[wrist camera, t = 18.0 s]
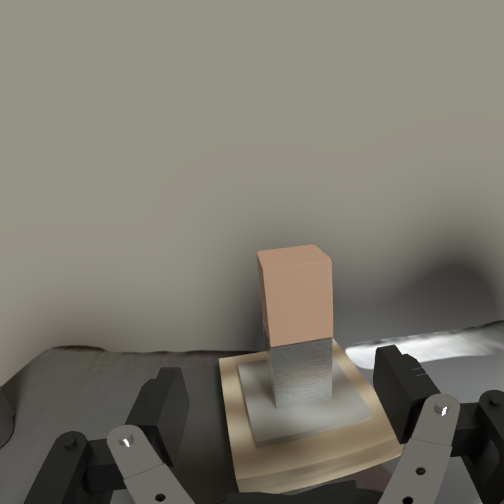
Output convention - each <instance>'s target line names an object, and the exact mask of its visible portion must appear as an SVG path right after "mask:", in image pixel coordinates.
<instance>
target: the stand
mask: <svg viewBox="0 0 504 504" xmlns="http://www.w3.org/2000/svg"><path fill="white" fill-rule="evenodd" d="M219 365H220V373H221V381H222V388H223V396H224V403H225V411H226V418H227V425H228V432H229V438H230V445H231V451H232V458H233V464H234V470H235V476H236V481H237V485H238V488H239V492H264V493H272V494H277V493H282V492H287V491H291V490H295V489H300V488H304V487H308V486H312V485H315V484H319V483H323V482H326V481H330V480H333V479H337V478H340V477H343V476H346V475H349V474H352V473H355V472H358V471H361V470H364V469H367V468H370V467H372V466H375V465H378V464H380V463H383V462H385V461H388V460H390V459H393V458H395V457H398V456H400V455H401V453H402V450H403V446H404V444H401V445H400V444H399V442H398V440H397V437H396V435H395V433H394V431H393V428H392V426H391V424H390V422H389V420H388V418H387V415H386V413H385V411H384V409H383V407H382V405H381V403H380V401H379V398H378V396H377V394H376V392H375V390H374V389H373V388H372V387H371V385H370V384H369V383H368V382H367V380H366V379H365V378H364V377H363V375H362V374H361V373H360V372H359V370H358V369H357V368H356V366H355V365H354V364H353V363H352V361H351V360H350V359H349V358H348V356H347V355H346V354H345V353H344V351H343V350H342V349H341V348H340V346H339V345H338V344H337V343H336V341H335V340H334V339H333V348H332V398H331V399H327V400H322V401H317V402H313V403H308V404H302V405H297V406H292V407H286V408H280V409H276V405H275V401H274V397H273V393H272V389H271V385H270V381H269V375H268V366H267V356H266V351H264V352H258V353H252V354H247V355H240V356H234V357H228V358H221V359H219Z"/></svg>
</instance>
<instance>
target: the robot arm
mask: <svg viewBox="0 0 504 504" xmlns="http://www.w3.org/2000/svg"><path fill="white" fill-rule="evenodd" d="M373 384H374V389H375V392H376V394H377V396H378V398H379V401H380V403H381V405H382V407H383V409H384V411H385V413H386V415H387V418H388V420H389V422H390V424H391V426H392V428H393V431H394V433H395V435H396V437H397V440H398V442H399V444H400V445H401V444H405V443H407V445H406V448H405V450H404V452H403V455H402V457H401V459H400V461H399V463H398V465H397V468H396V470H395V472H394V474H393V476H392V478H391V480H390V482H389V484H388V486H387V488H386V489H385V491H384V492H382V491H379V490H375V489H370V488H360V487H356V483H355V480H350V481H345V482H339V483H334V484H328V485H323V486H320V487H317V488H314V489H311V490H308V491H305V492H302V493H299V494H296V495H280V494H272V493H264V492H236V493H227V500H226V501H222V502H219V503H216V504H434V502H435V499H436V497H437V494H438V491H439V488H440V485H441V483H442V480H443V476H444V474H445V470H446V467H447V464H448V461H449V457H456V456H461V458H462V460H463V462H464V464H465V466H466V468H467V470H468V473H469V475H470V477H471V479H472V481H473V483H474V485H475V487H476V490H477V492H478V494H479V496H480V499H481V501H482V503H483V504H504V392H502V391H499V390H489V391H486V392H485V393H483V394H482V395H481V397H480V399H479V402H476V403H462V404H460V403H459V402H458V400H457V399H456V398H455V397H453V396H451V395H448V394H441V393H440V391H439V390H438V388H437V387H436V386H435V384H434V383H433V381H432V380H431V379H430V377H429V376H428V374H426V372H425V371H424V369H423V368H422V366H421V365H420V364H419V362H418V361H417V359H415V358H413V357H412V356H410V355H408V354H403V355H402V354H401V352H400V351H399V350H398V348H397V347H396V345H389V346H384V347H378V348H377V349H376V354H375V364H374V374H373ZM138 395H139V396H138V397H137V399H136V401H135V402H136V403H134V405H133V407H132V409H131V412H130V414H129V416H128V418H127V420H126V423H125V425H123V426H119V427H117V428H115V429H113V430H112V431H111V432H110V433H109V435H108V437H107V438H106V439H99V440H91V441H88V440H87V439H86V437H85V435H83V434H82V433H80V432H77V431H70V432H66V433H64V434H62V435H60V436H59V437H58V438H57V439H56V441H55V442H54V444H53V446H52V448H51V450H50V452H49V454H48V456H47V457H46V459H45V461H44V463H43V465H42V467H41V469H40V471H39V473H38V475H37V477H36V479H35V481H34V483H33V485H32V487H31V489H30V491H29V493H28V495H27V497H26V499H25V501H24V504H110V501H111V497H112V494H113V491H114V490H120V489H128V490H129V492H130V494H131V496H132V498H133V500H134V502H135V503H136V504H195V503H194V502H193V500H192V499H191V498H190V496H189V495H188V494H187V493H186V491H185V490H184V489H183V487H182V486H181V485H180V483H179V482H178V480H177V479H176V478H175V476H174V475H173V474H172V472H171V471H170V469H169V468H168V467H167V466H170V467H174V466H175V462H176V458H177V454H178V450H179V445H180V441H181V437H182V433H183V429H184V425H185V421H186V418H187V414H188V409H189V398H188V393H187V390H186V386H185V382H184V379H183V375H182V371H181V369H180V367H162V368H161V369H160V371H159V373H158V376H157V378H156V379H150V380H149V381H147V382H146V383H145V384H144V385H143V386H142V388H141V390H140V392H139V394H138ZM14 414H15V413H14V411H13V410H12V408H11V406H10V404H9V402H8V400H7V399H6V397H5V395H4V393H3V391H2V389H1V387H0V448H1V447H2V446H3V445H4V444H5V443H6V442H7V441H8V439H9V438H10V436H11V434H12V432H13V428H14V423H13V416H14Z"/></svg>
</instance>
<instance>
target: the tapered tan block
mask: <svg viewBox="0 0 504 504" xmlns="http://www.w3.org/2000/svg"><path fill="white" fill-rule="evenodd" d="M256 253H257V263H258V272H259V281H260V291H261V300H262V309H263V318H264V323H265V327H266V331H267V335H268V338H269V342H270V346H271V347H274V346H281V345H288V344H294V343H300V342H306V341H312V340H318V339H323V338H329V337H333V297H332V296H333V295H332V265H331V259H330V258H329V257H328V256H327V255H326V254H325V253H323V252H322V251H321V250H320V249H319V248H317V247H316V246H315V245H313V244H312V245H304V246H296V247H288V248H280V249H272V250H264V251H257V252H256Z"/></svg>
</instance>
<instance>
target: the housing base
mask: <svg viewBox="0 0 504 504" xmlns="http://www.w3.org/2000/svg"><path fill="white" fill-rule="evenodd" d="M263 328H264V338H265V347H266V356H267V366H268V375H269V381H270V385H271V389H272V393H273V397H274V401H275V405H276V409H280V408H286V407H292V406H297V405H302V404H308V403H313V402H317V401H322V400H327V399H331V398H332V348H333V338H332V337H329V338H323V339H318V340H312V341H306V342H300V343H294V344H288V345H281V346H274V347H271V346H270V342H269V338H268V335H267V331H266V327H265V323H264V321H263Z"/></svg>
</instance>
